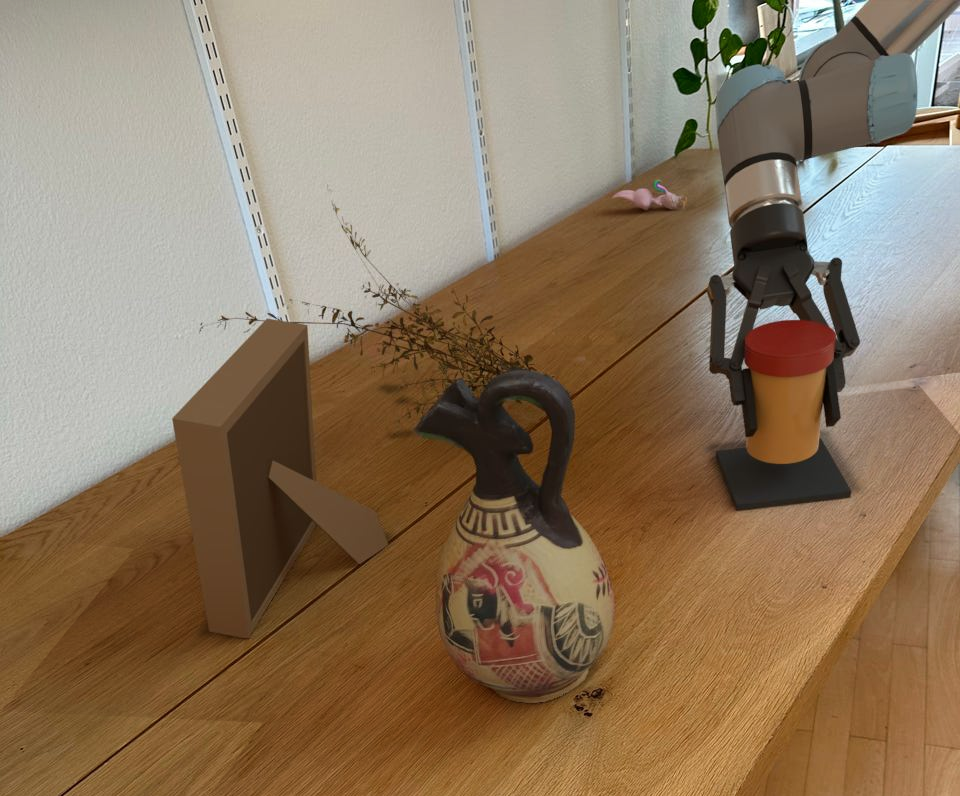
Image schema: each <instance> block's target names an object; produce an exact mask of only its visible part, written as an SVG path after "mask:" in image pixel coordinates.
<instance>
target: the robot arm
mask: <svg viewBox="0 0 960 796" xmlns="http://www.w3.org/2000/svg"><path fill="white" fill-rule="evenodd" d="M959 7H960V0H867V1H866V2H865V4H864V5H863V6H862V7H861V8H859V10H858V11H857V12H856V13H855V14H854V15H853V17H852V18H851V19H850V20H849V21H848V22H847V23H846V24H844V26H843V27H841V29H840V30H839V31H837V33H836V34H835V35H834V37H832V38H830V39H827V40H825V41H823V42H821V43H819V44H817V45H816V46H815V47H814V48H813V49H812V50H811V51H810V52H809V53H808V55H807V56H806V57H805V59H804V61H803V64H802V65H801V68H800V71H799V76H798V81H797V80H795V81H791V82H788V80H787V79H786V75H785V73H784V71H783V70H782V69H781V68H780V67H779V66H776V65H773V64H768V65H765V66H763V65H762V64H753V65H749V66H745V67H744V68H742V69H739V70H738V71H736V72H735V73H733V74H732V75H731V76H729V77H728V78H727V79H726V80H725V81H724V83H722V85H721V87H720V88H719V90H718V92H717V95H716V99H715V105H714V106H715V117H716V133H717V144H718V149H719V156H720V163H721V170H722V177H723V178H722V179H723V185H724V193H725V202H726V210H727V211H726V212H727V219H728V225H729V227H730V231H729V235H730V245H731V251H732V260H733V269H732V273H729V274H725V275H723V276H720V275H719V274H712V275H711V277H710V278H709V281H708V284H707V288H706V294H707V297H708V300H709V302H710V306H711V315H710V316H711V317H710V337H709V338H710V339H709V365H708V369H709V373H711V375H717V374H720V375H725V377H726V379H727V380H728V386H729V393H730V402H731V403H732V405H733V406H741V411H742V417H743V418H742V419H743V427H744V434H745V435H744V436H745V438H746V437H752V436H753V435H754V434H755V432H756V431H757V429H758V427H757V419H756V411H755V403H754V395H753V387H752V378H751V371H750V369H749V368H748V367H746V368H743V367H742V366H743V363H744V353H745V338H746V335H747V334H748V333H749V332H750V331H751V330H753V329H754V328H755V323H756V320H757V317H758V312H759V310H765V309H769V308H772V307H786V306H788V307H789V308H790V310H791V312H792V313H793V314H795V315H796V316H797V318H798V320H807V321H814V322H818V323H821V324H824V325H827V326H828V327H830V325H829V323H828V322H827V320H826V318H825V316H824V315H823V313H822V312H821V310H820V308H819V307H818V305H817V304H816V302H815V300H814V299H813V296H812V292H811V290H810V288H809V287H808V285H807V282H808V281H809V279H810V277H811V276H814V277H815V278H816V281H817V283H818V284H819V285H820V286H822V290H823V296H824V299H825V302H826V306H827V309H828V312H829V316H830V319H831V322H832V325H833V330H834V332H835V333H836V341H835V351H834V359H833V361H832V363H831V364H830V365H829V366H828V367H827V369H826V379H825V389H824V398H823V412H824V420H825V426H826V428H831V427H835V426H836V424H837V423H838V422H839V421H840V420H841V419H842V417H841V408H840V402H839V394H838V393H841V392H842V391H843V390H844V389H845V388H846V387H845V386H846V383H847V381H846V374H845V366H844V358H847V357H851V356H852V355H853V354H854V353H855V351H856V350H857V349H858V348H859V346H860V344H861V339H860V337H859V333H858V330H857V327H856V323H855V320H854V317H853V312H852V310H851V307H850V303H849V300H848V297H847V292H846V290H845V287H844V284H843V281H842V273H843V272H842V270H843V260H842V259H841V258H840V257H833V258H832V259H831V260H830V261H815V259H814V257H813V256H812V255H811V254H810V252H809V247H808V239H807V231H806V224H805V217H804V212H803V210H802V207H803V199H802V191H801V186H800V180H799V173H798V163H797V162H801V161H807V160H809V159H813V158H817V157H822V156H826V155H830V154H833V153H838V152H842V151H846V150H850V149H854V148H859V147H863V146H866V145H870V144H876V145H877V144H880V143H881V142H883V141H885V140H888V139H892V138H895V137H897V136H901V135H903V134H905V133H907V132H909V130H911V128H912V126H913V125H914V123H915V120H916V117H917V116H916V115H917V110H918V77H917V70H916V64H915V62H914V60H913V57H912V54H913V53H914V52H916V50H917V49H918V48H919V47H921V45H922V44H923V43H924V42H925V41H927V39H928V38H929V37H931V35H932V34H933V33H934V32H935V31H936V30H937V29H939V27H940V26H941V25H943V23H944V22H945V21H946V20H947V19H948V18H949V17H950V16H951V15H952V14H953V13H954V12H955V11H957V10H958V8H959ZM732 287H733V288H734V289H736V291H738V292H739V293H740V294H741V295H742V297H744V298H745V299H746V300H747V302H746V305H745V309H744V312H743V315H742V319H741V323H740V326H739V330H738V333H737V336H736V340H735V343H734V346H733V349H732V354H731V355H730V358H729V357H725V347H726V323H727V322H726V320H727V298H728V297H729V296H730V294H731V289H732Z"/></svg>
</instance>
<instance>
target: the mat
mask: <svg viewBox="0 0 960 796" xmlns="http://www.w3.org/2000/svg"><path fill="white" fill-rule="evenodd" d="M715 457H716V461H717V463H718V465H719V468H720V471H721V473H722V476H723V478H724V481H725V484H726V487H727V489H728V492H729V495H730V497H731V501H732V503H733V505H734V508H735V510H736V511H737V512H738V511H746V510H753V509H762V508H770V507H780V506H787V505H797V504H804V503H814V502H823V501H830V500H839V499H847V498H851V497H852V489H851V488H850V486H849V484H848V483H847V481H846V479H845V477H844V476H843V474H842V472H841V470H840V469H839V467H838V464H837V463H836V461H835V460H834V458H833V456H832V455H831V453H830V451H829V450H828V448H827V446H826V445H825V443H824V441H823V439H822V437H819V446H818V450H817V452H816V453H815V454H814V455H813V456H811V457H810V458H808V459H806V460H803V461H800V462H796V463H789V464H774V463H767V462H763V461H760V460H758V459H755V458H754V457H752V456H751V455H750V454H749V453H748V452H747V449H746V446H744V447H736V448H727V449H719V450H715Z"/></svg>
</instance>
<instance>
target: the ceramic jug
mask: <svg viewBox="0 0 960 796" xmlns="http://www.w3.org/2000/svg"><path fill="white" fill-rule="evenodd" d="M526 369H527V368H526ZM526 369H525V368H519V369H512V370H509V371H505V370H504V371H502V372H503V373H501V374H500V375H498V376H493V377H491V378H492V379H491V380H488V381H489V383H488V384H487V385H486V384H485V385H486V387H485V388H484V390H483V391H482V393H481V392H480V394H479V397H480V398H479V400H478V399H477V398H476V397H477V396H476V395H475V393H474V392H473V391H472V388H471V387H470V388H469V387H468V386H467V382H464V380H465V379H464V378H463V379H462V377H458V378H457V379H455V381H453V383H452V384H451V383H450V385H448V387H447V388H446V389H445V388H444V390H445V392H444V393H442V394H440V395H441V396H439V398H437V400H436V401H435V402H436V403H433V404H432V406H430V407H429V408H428V410H427V411H426V412H425V413H423V414H424V416H423V417H422V416H421V417H422V419H421V420H420V419H419V420H418V422H417V424H416V425H415V426H414V427H413V433H414V434H415V435H417V436H418V437H420V438H423V439H428V440H435V441H443V442H445V443H448V444H450V445H452V446H454V447H456V448H459V449H463V451H465V452H466V453H468V454H469V455H470V456H471V458H472V459H473V462H474V465H475V484H474V486H473V487H472V491H471V493H470V494H469V495H468V498H467V500H465V503H464V504H463V506H462V508H461V510H460V511H459V514H457V516H456V520H455V522H454V524H453V526H452V529H451V531H450V532H449V535H448V537H447V539H446V541H445V543H444V545H443V547H442V550H441V551H442V552H441V556H440V560H439V563H438V565H437V572H436V577H435V618H436V622H437V627H438V631H439V636H440V638H441V641H442V643H443V646H444V648H445V650H446V652H447V653H448V655H449V657H450V658H451V659H452V661H453V663H454V664H455V666H456V668H457V669H459V670H460V671H461V672H462V674H465V676H466V677H467V678H469V679H471V680H472V681H473V682H474V683H477V684H480V685H482V686H484V687H486V688H488V689H491V690H492V689H493V690H494V691H496V692H497V693H498V694H499V695H501V696H502V697H505V698H507V699H506V700H508V699H509V700H508V701H511V700H514V701H519V702H524V703H536V702H543V703H546V701H547V702H550V701H552V700H555V699H557V697H558V698H560V697H562V696H564V695H566V694H567V693H569V692H570V691H572V690H574V689H575V688H577V687H578V686H579V685H581V684H582V683H583V682H584V681H585V680H586V678H587V676H588V675H589V673H590V672H589V669H590V668H591V667H592V666H593V665H594V664H595V662H596V661H597V660H598V659H599V657H600V656H601V655H602V654H603V653H604V651H605V650H606V649H607V646H608V644H609V641H610V638H611V636H612V633H613V627H614V619H615V611H616V602H615V596H614V590H613V587H612V583H611V582H612V581H611V578H610V573H609V570H608V568H607V564H606V562H605V560H604V558H603V557H602V555H601V553H600V551H599V550H598V547H597V546H596V544H595V543H594V541H593V540H592V538H591V536H590V535H589V534H588V532H587V531H586V530H585V529H584V527H583V525H581V524H580V522H579V521H578V520H577V519H576V518H575V517H574V516H573V515H572V514H571V512H570V509H569V507H568V504H567V503H566V502H565V500H564V498H563V497H562V492H563V485H564V482H565V477H566V474H567V470H568V465H569V463H570V459H571V456H572V452H573V447H574V443H575V433H576V431H575V430H576V429H575V428H576V412H575V408H574V405H573V402H572V397H571V395H570V393H569V391H568V390H567V389H566V388H565V386H563V384H561V382H560V381H559V380H558V379H555V378H554V377H553V378H552V376H551V375H548V374H547V373H544V374H543V373H542V372H540V371H534V370H531V371H529V369H528V370H526ZM514 400H519V401H520V400H521V402H526V403H529V404H532V405H534V406H536V407H537V408H538V409H540V410H542V411H543V412H544V413H545V414H546V416H547V417H548V421H549V425H550V429H551V436H550V437H551V438H550V443H549V449H548V450H549V451H548V457H547V463H546V466H545V468H544V471H543V474H542V476H541V477H542V478H541V482H540V485H539V483H538V482H537V481H536V480H533V479H532V478H531V476H530V475H529V474H528V473H527V471H526V470H525V469H524V467H523V465H522V464H521V461H520V458H519V456H520V455H530V454H531V453H533V451H534V443H533V440H532V437H531V435H530V434H529V433H528V432H527V431H526V429H524V427H522V426H521V424H519V423H518V422H517V421H516V420H515V418H513V417H512V416H511V415H510V413H509V412H508V411H507V410H506V409H505V407H504V406H503V404H505V403H506V402H511V401H512V402H513V401H514ZM493 690H492V691H493ZM494 691H493V692H494ZM497 693H496V694H497ZM565 693H566V694H565ZM498 694H497V695H498ZM563 694H564V695H563ZM499 695H498V696H499ZM501 696H500V697H501ZM559 696H560V697H559ZM502 697H501V698H502ZM505 698H504V699H505ZM554 698H555V699H554ZM549 700H550V701H549ZM524 703H523V704H524Z"/></svg>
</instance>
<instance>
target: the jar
mask: <svg viewBox="0 0 960 796" xmlns="http://www.w3.org/2000/svg"><path fill="white" fill-rule="evenodd" d="M826 369H827V367H826V368H824V369H823V370H821V371H818V372H815V373H812V374H808V375H803V376H796V377H775V376H768V375H763V374H760V373H757V372H755V371H752V370H751V369H750V371H751V378H752V387H753V395H754V403H755V411H756V419H757V427H758V429H757V431H756V432H755V434H754V435H753V436H752V437H746V436H745V440H746V441H745V447H746V449H747V452H748V453H749V454H750V455H751V456H752V457H754V458H755V459H758V460H760V461H763V462H767V463H774V464H789V463H796V462H800V461H803V460H806V459H808V458H810V457H811V456H813V455H814V454H815V453H816V452H817V450H818V446H819V438H821V437H820V436H821V427H822V416H823V409H824V406H823V398H824V389H825V379H826Z"/></svg>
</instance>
